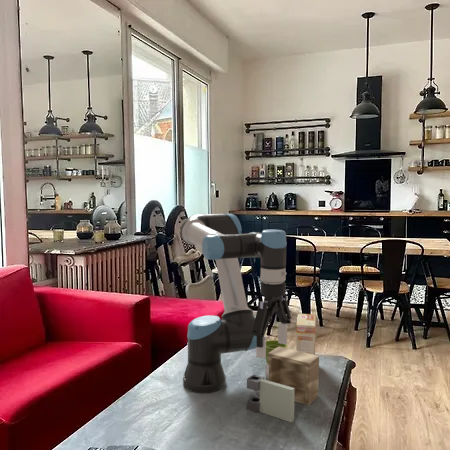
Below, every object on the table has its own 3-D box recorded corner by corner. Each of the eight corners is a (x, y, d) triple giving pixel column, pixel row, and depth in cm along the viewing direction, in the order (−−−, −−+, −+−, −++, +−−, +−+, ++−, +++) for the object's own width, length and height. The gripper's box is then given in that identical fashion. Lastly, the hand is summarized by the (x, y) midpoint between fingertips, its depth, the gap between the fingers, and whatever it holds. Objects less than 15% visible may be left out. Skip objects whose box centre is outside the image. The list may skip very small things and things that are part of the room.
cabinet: (257, 400, 148) (258, 358, 147) (277, 384, 160) (278, 346, 158) (300, 413, 140) (301, 370, 138) (318, 396, 151) (319, 355, 150)
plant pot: (270, 359, 183) (270, 338, 182) (291, 364, 177) (291, 343, 176) (258, 366, 175) (258, 345, 174) (279, 372, 170) (279, 350, 169)
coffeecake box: (314, 378, 165) (315, 326, 163) (294, 376, 166) (295, 324, 165) (314, 362, 180) (315, 314, 178) (296, 360, 181) (297, 313, 179)
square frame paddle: (246, 409, 142) (246, 378, 141) (253, 404, 146) (253, 374, 145) (289, 424, 134) (290, 391, 133) (295, 418, 137) (296, 386, 136)
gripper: (263, 291, 123) (262, 366, 125) (302, 275, 144) (301, 340, 146) (240, 287, 127) (239, 360, 129) (281, 273, 148) (280, 336, 150)
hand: (272, 350), depth 138 cm, fingers open, 13 cm apart
